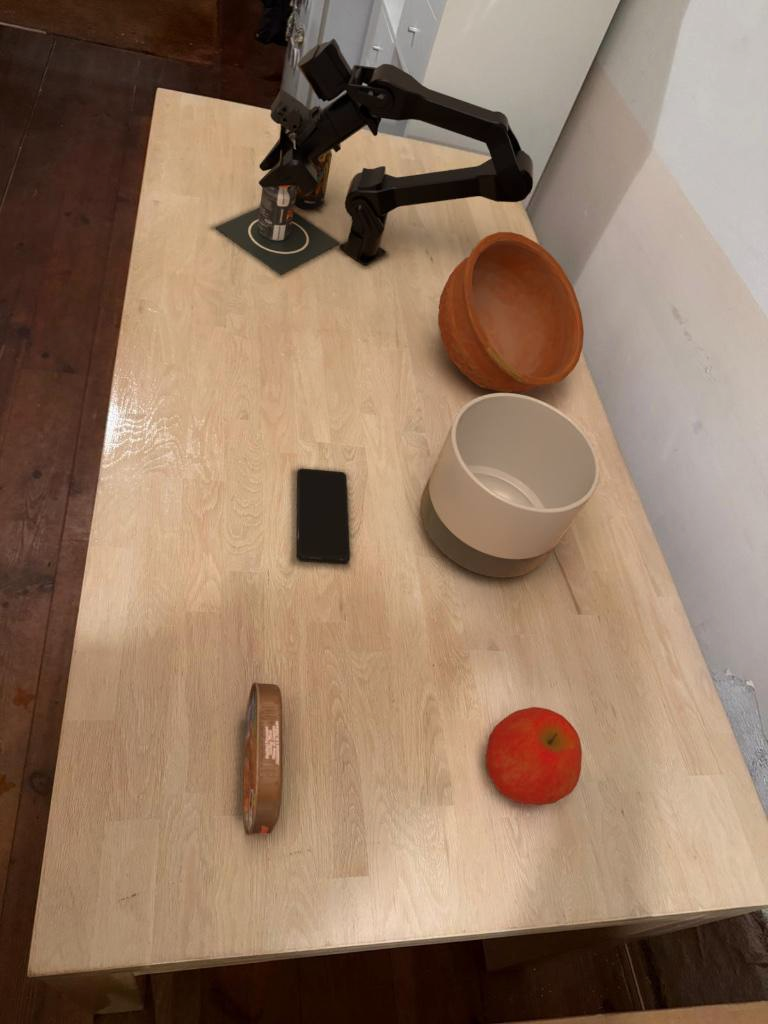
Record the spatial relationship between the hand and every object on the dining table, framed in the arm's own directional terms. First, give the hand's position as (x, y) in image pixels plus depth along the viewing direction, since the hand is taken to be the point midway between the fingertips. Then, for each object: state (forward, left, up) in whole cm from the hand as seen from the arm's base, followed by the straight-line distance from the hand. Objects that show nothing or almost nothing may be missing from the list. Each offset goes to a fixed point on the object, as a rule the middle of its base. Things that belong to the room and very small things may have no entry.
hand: (260, 176), depth 127 cm
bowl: (-6, +44, -9) cm, 45 cm away
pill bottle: (-2, +2, -10) cm, 11 cm away
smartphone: (+40, +51, -11) cm, 65 cm away
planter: (+25, +68, -11) cm, 73 cm away
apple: (+50, +90, -11) cm, 103 cm away
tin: (+70, +68, -11) cm, 98 cm away
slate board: (-2, +4, -11) cm, 11 cm away
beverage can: (-15, -1, -11) cm, 19 cm away
